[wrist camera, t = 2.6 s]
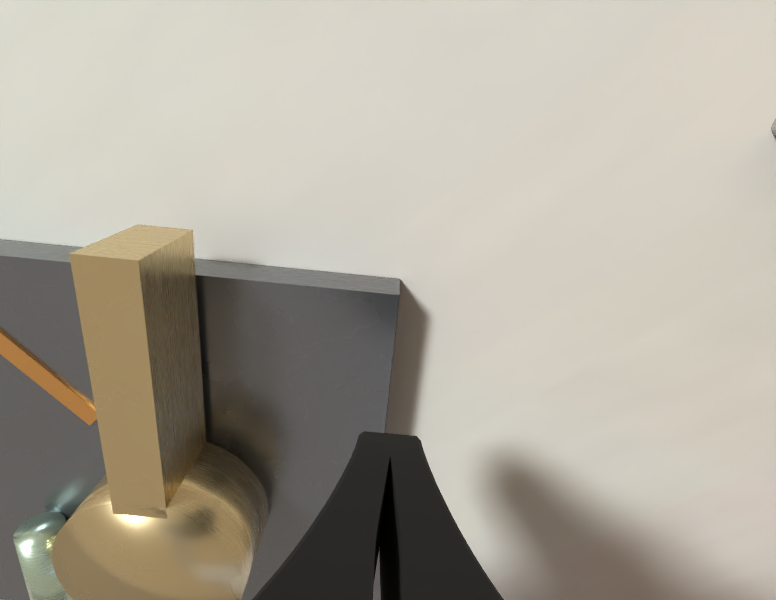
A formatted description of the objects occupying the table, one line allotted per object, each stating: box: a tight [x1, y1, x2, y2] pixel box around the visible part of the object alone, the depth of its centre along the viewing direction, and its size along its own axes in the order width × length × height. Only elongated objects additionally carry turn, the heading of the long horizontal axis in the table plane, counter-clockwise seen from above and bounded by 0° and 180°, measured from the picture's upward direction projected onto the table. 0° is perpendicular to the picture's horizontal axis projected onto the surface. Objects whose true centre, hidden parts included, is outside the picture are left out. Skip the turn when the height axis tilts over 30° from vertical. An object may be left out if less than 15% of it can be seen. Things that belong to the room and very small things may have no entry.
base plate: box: [0, 239, 400, 600], centre depth 17 cm, size 16×16×3 cm
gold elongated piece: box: [52, 225, 269, 600], centre depth 15 cm, size 14×6×3 cm, turn 175°
